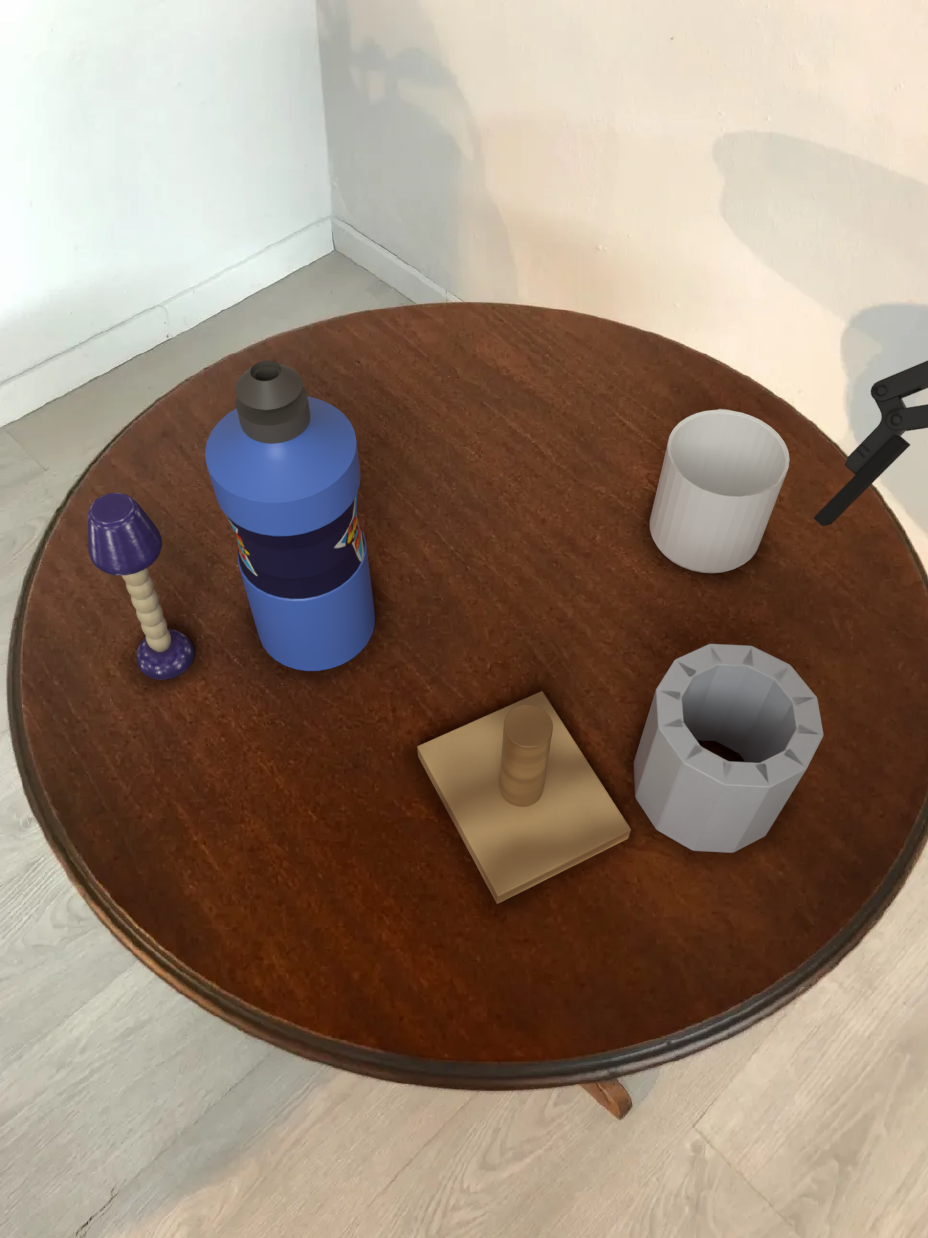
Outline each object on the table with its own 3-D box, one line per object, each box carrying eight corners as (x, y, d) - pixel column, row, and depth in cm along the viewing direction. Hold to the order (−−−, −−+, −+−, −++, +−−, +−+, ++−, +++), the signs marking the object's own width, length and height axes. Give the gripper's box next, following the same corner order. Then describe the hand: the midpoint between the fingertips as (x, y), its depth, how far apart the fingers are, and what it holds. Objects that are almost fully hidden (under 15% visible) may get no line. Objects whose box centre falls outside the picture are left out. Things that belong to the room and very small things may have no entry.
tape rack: (628, 838, 68) (651, 771, 60) (497, 904, 66) (502, 843, 57) (540, 701, 74) (550, 622, 66) (417, 756, 72) (412, 681, 64)
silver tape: (808, 813, 69) (855, 743, 61) (686, 877, 67) (718, 813, 58) (723, 700, 74) (756, 622, 66) (607, 755, 72) (626, 681, 64)
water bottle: (372, 568, 81) (343, 312, 61) (381, 666, 76) (352, 421, 56) (255, 579, 81) (185, 324, 60) (256, 678, 75) (180, 435, 55)
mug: (746, 588, 80) (777, 510, 73) (636, 556, 82) (654, 477, 74) (775, 484, 87) (806, 402, 79) (672, 456, 89) (692, 374, 81)
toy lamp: (171, 620, 78) (111, 469, 65) (215, 649, 77) (163, 501, 63) (125, 662, 76) (53, 515, 62) (170, 693, 75) (105, 550, 61)
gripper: (1429, 470, 51) (1075, 740, 60) (1032, 177, 58) (770, 460, 67) (1482, 470, 45) (1077, 772, 54) (1028, 141, 52) (739, 459, 61)
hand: (906, 599), depth 61 cm, fingers open, 13 cm apart
